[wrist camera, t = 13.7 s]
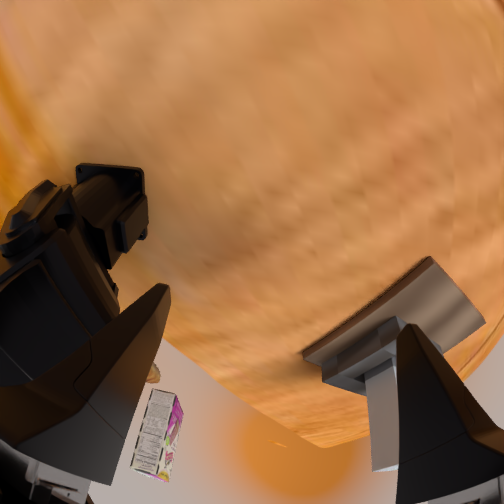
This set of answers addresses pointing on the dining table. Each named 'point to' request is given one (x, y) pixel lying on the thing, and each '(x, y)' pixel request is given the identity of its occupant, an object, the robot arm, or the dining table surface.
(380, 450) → the white block
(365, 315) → the grey square socket base
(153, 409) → the candy bar box
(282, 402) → the dining table surface
